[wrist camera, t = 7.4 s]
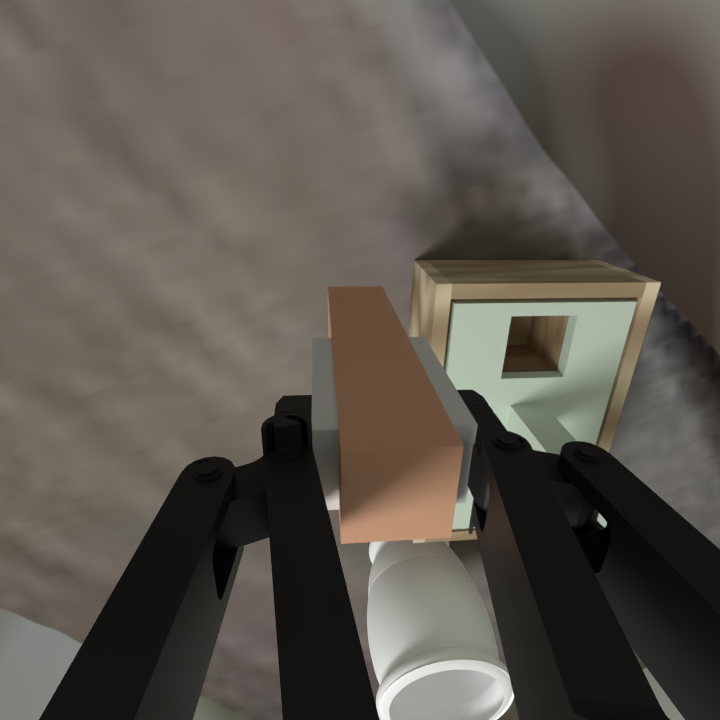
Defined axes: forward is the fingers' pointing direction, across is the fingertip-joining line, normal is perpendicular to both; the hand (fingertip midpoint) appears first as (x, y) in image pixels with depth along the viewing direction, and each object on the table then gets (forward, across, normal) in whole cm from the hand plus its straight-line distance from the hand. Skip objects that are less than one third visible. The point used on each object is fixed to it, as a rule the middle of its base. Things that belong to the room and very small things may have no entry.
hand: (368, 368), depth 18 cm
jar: (+18, +7, -29) cm, 35 cm away
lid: (+11, +13, -10) cm, 20 cm away
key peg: (+8, 0, 0) cm, 8 cm away
